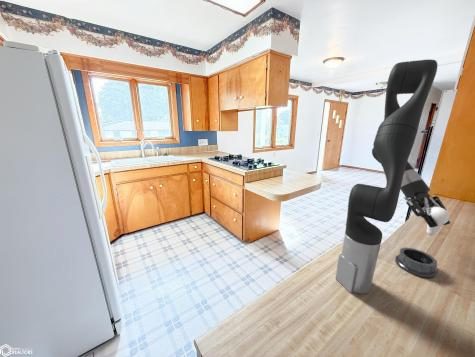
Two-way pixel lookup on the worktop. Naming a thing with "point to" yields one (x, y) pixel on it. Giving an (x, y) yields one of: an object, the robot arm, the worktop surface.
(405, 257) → the socket holder
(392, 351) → the worktop surface
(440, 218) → the lightbulb
